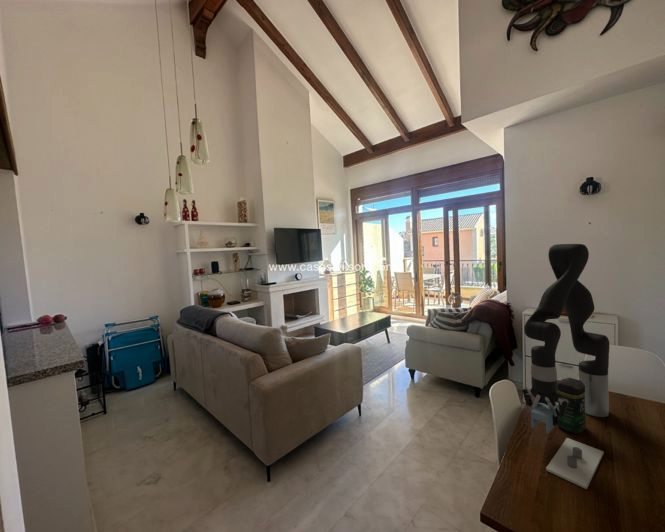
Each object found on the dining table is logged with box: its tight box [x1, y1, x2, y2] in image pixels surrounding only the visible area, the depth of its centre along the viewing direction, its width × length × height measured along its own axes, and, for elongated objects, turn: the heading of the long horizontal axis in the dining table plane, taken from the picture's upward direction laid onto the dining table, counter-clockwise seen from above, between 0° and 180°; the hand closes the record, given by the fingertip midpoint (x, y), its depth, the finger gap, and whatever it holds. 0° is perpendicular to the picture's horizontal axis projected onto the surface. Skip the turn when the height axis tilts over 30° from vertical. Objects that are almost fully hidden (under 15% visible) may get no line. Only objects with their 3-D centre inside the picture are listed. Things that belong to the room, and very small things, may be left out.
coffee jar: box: [556, 377, 587, 434], centre depth 114 cm, size 10×8×19 cm
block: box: [530, 401, 560, 435], centre depth 106 cm, size 12×5×6 cm, turn 128°
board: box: [545, 437, 605, 490], centre depth 97 cm, size 22×10×3 cm, turn 128°
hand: (545, 421), depth 107 cm, fingers closed on block, 5 cm apart
